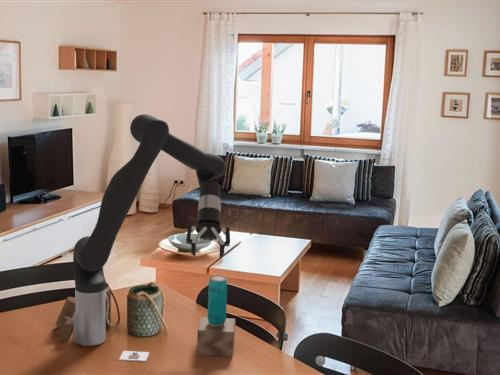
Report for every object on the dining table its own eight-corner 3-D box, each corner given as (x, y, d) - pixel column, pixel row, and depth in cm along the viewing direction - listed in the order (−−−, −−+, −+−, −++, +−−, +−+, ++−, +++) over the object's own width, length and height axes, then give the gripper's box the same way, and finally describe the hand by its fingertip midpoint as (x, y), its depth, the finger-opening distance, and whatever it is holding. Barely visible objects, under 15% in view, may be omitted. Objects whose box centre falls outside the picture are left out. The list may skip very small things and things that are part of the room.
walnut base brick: (196, 354, 204) (197, 330, 202) (200, 340, 215) (201, 316, 213) (232, 356, 204) (233, 332, 202) (234, 342, 214) (235, 318, 213)
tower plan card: (119, 360, 198) (119, 359, 198) (123, 351, 204) (123, 350, 204) (145, 361, 198) (145, 360, 198) (149, 353, 204) (149, 351, 203)
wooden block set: (69, 349, 209) (82, 322, 207) (44, 338, 208) (56, 310, 206) (85, 325, 227) (97, 300, 224) (61, 314, 226) (73, 289, 224)
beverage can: (210, 319, 211) (211, 274, 208) (228, 321, 210) (229, 276, 207) (205, 326, 206) (206, 279, 203) (222, 328, 204) (224, 281, 202)
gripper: (188, 205, 218) (185, 250, 211) (231, 207, 220) (230, 253, 212) (187, 214, 225) (184, 259, 217) (229, 217, 226) (228, 262, 219)
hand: (207, 256), depth 215 cm, fingers open, 8 cm apart
